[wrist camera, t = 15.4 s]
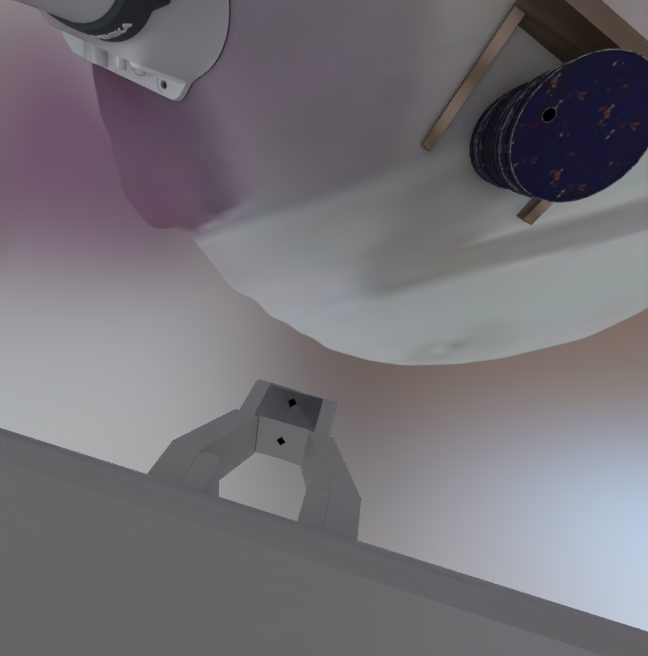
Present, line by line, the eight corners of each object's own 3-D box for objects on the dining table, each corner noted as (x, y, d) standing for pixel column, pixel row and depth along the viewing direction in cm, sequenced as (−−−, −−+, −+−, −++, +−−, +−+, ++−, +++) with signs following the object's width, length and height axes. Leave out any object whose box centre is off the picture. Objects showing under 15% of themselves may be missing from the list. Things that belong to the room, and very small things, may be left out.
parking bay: (523, 221, 39) (551, 235, 33) (420, 144, 38) (426, 143, 31) (637, 102, 32) (703, 89, 25) (516, 0, 30) (552, -43, 24)
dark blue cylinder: (587, 113, 33) (706, 90, 21) (520, 201, 39) (582, 225, 26) (508, 68, 33) (581, 15, 20) (450, 162, 38) (479, 168, 25)
